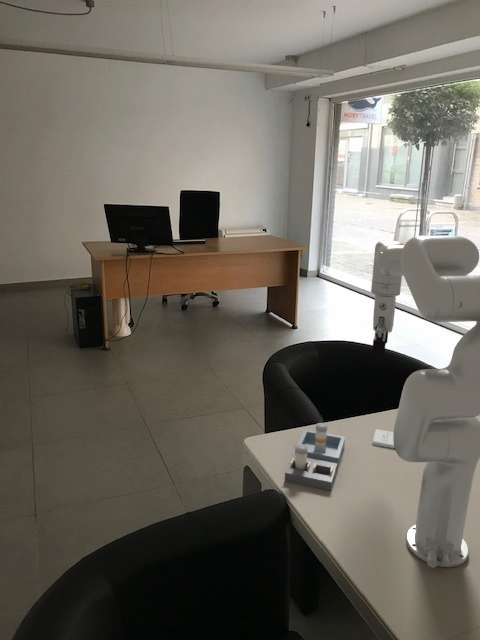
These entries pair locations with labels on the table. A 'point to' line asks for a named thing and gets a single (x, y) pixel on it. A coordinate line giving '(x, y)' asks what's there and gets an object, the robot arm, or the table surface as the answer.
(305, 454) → the fuse
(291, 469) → the fuse holder
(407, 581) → the table surface
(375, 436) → the external hard drive
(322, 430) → the marked fuse
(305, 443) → the tray
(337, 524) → the table surface
